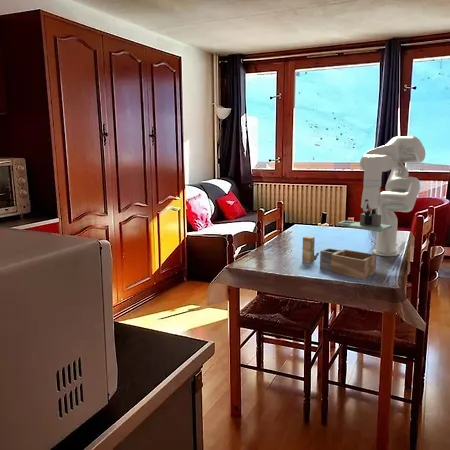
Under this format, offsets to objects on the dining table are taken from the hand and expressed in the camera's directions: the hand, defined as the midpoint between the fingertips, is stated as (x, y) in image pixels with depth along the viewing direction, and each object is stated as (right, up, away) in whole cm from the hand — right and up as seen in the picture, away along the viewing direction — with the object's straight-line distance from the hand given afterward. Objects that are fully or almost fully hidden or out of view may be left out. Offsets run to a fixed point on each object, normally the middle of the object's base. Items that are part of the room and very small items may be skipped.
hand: (370, 223), depth 196 cm
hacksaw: (-23, -16, +25) cm, 38 cm away
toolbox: (-13, -21, -6) cm, 25 cm away
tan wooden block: (-26, -18, +10) cm, 34 cm away
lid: (-2, -2, +3) cm, 4 cm away
